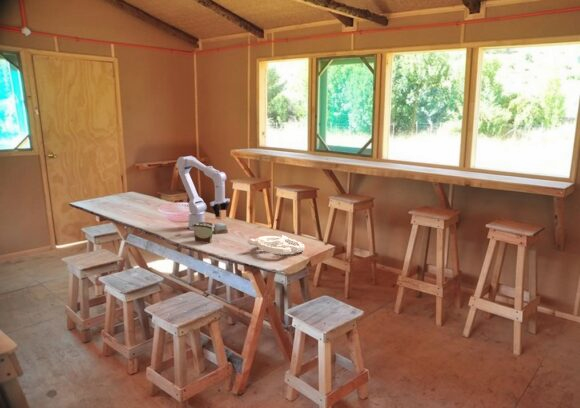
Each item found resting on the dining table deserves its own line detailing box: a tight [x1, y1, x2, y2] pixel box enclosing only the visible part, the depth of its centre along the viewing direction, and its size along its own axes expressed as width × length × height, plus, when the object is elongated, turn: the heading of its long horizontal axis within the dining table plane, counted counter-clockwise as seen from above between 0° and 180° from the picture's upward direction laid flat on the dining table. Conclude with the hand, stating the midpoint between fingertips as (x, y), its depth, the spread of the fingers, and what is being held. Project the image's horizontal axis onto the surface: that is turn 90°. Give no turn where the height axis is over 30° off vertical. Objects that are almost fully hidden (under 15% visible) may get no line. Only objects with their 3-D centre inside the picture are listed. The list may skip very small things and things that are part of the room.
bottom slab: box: [213, 228, 229, 235], centre depth 260 cm, size 7×7×2 cm
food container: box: [192, 221, 214, 244], centre depth 242 cm, size 12×6×10 cm, turn 71°
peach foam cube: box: [214, 208, 227, 221], centre depth 258 cm, size 4×4×5 cm
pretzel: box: [247, 235, 306, 255], centre depth 229 cm, size 28×24×6 cm
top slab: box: [213, 222, 228, 230], centre depth 260 cm, size 6×6×2 cm
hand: (220, 215), depth 258 cm, fingers closed on peach foam cube, 4 cm apart
